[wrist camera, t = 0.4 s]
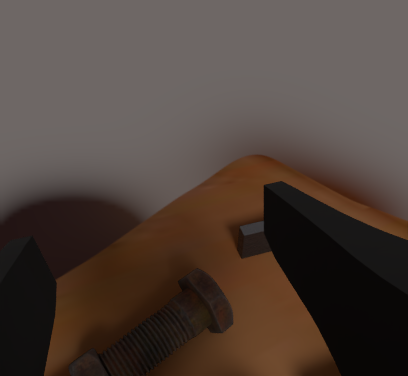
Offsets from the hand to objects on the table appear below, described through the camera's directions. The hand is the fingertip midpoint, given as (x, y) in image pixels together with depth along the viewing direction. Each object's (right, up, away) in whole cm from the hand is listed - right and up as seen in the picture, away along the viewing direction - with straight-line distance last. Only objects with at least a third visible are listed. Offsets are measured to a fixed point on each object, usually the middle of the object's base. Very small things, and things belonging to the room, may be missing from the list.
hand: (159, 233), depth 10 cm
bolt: (-4, -13, +15) cm, 20 cm away
